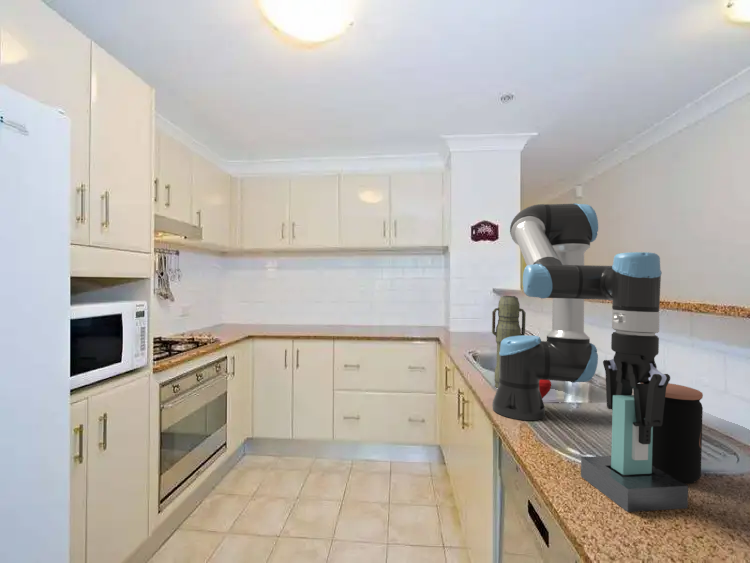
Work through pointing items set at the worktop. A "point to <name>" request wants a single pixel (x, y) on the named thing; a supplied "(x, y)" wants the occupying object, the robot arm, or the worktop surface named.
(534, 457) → the worktop surface
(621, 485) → the block
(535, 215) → the robot arm
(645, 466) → the keyed peg
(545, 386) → the strawberry
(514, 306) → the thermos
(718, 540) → the worktop surface
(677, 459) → the coffee jar
